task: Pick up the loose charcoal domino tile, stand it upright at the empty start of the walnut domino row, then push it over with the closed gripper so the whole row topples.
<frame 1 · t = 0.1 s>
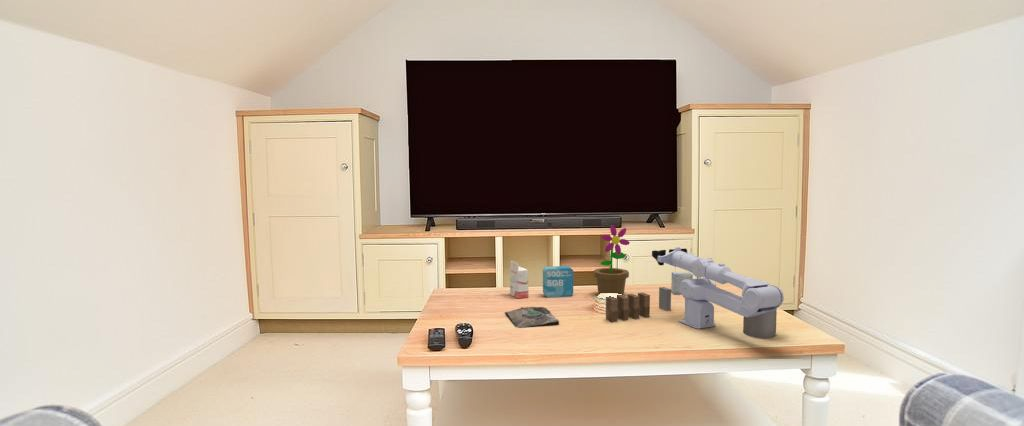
hand: (661, 252, 202), 22 cm above the table, tool horizontal, fingers open, 7 cm apart
tile 2: (643, 315, 197), on the table
tile 5: (611, 320, 192), on the table
ink cartridge box: (519, 296, 227), on the table
terrain model: (530, 320, 195), on the table
medicine box: (681, 293, 229), on the table
tile 3: (633, 317, 195), on the table
flowerpot: (610, 296, 226), on the table
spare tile: (664, 309, 205), on the table
tile 4: (622, 318, 193), on the table
data package: (558, 296, 227), on the table
pillar candle: (759, 334, 175), on the table
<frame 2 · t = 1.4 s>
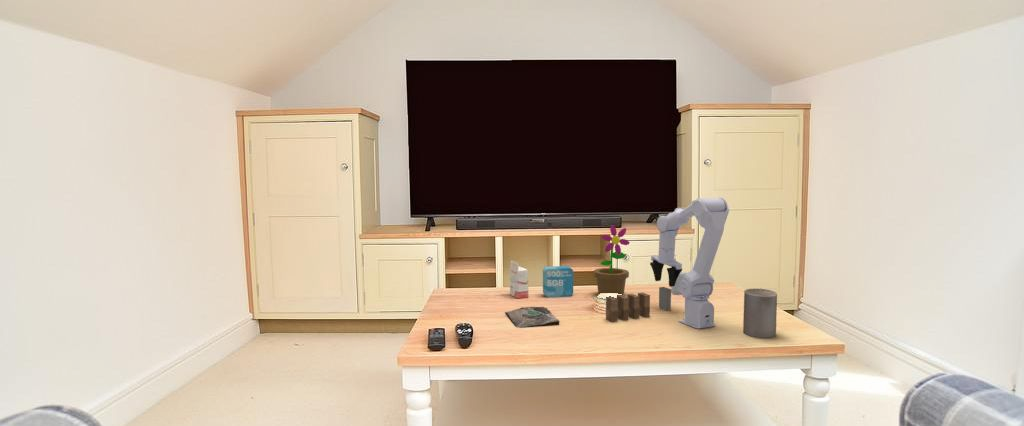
hand: (664, 283, 204), 10 cm above the table, tool pointing down, fingers open, 7 cm apart
nothing on the table moved.
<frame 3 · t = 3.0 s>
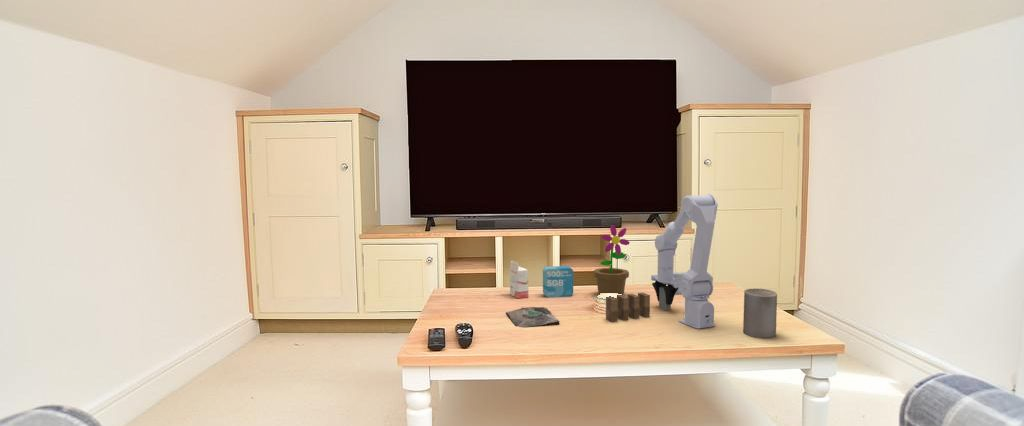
hand: (664, 302, 205), 2 cm above the table, tool pointing down, fingers closed on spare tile, 4 cm apart
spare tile: (664, 309, 205), on the table, touching gripper
everything else where it was.
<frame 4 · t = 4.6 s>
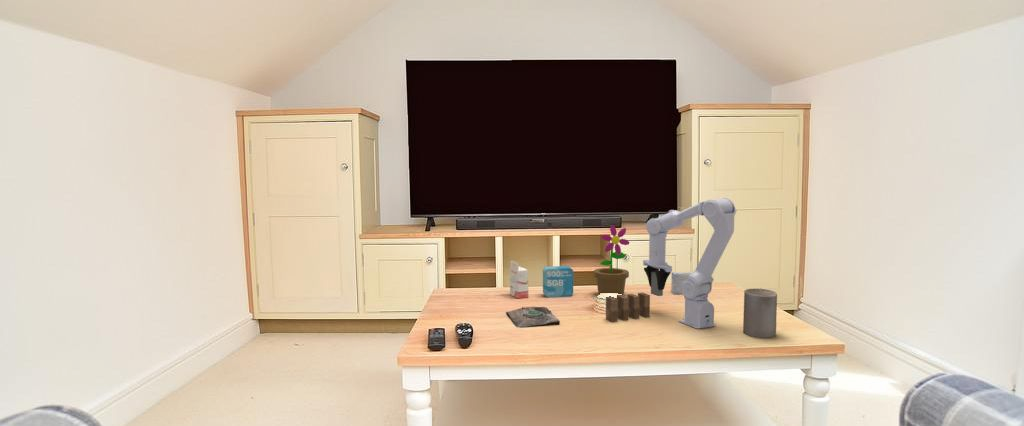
hand: (656, 288, 199), 9 cm above the table, tool pointing down, fingers closed on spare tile, 4 cm apart
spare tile: (656, 294, 199), point 7 cm above the table, touching gripper
everything else where it was.
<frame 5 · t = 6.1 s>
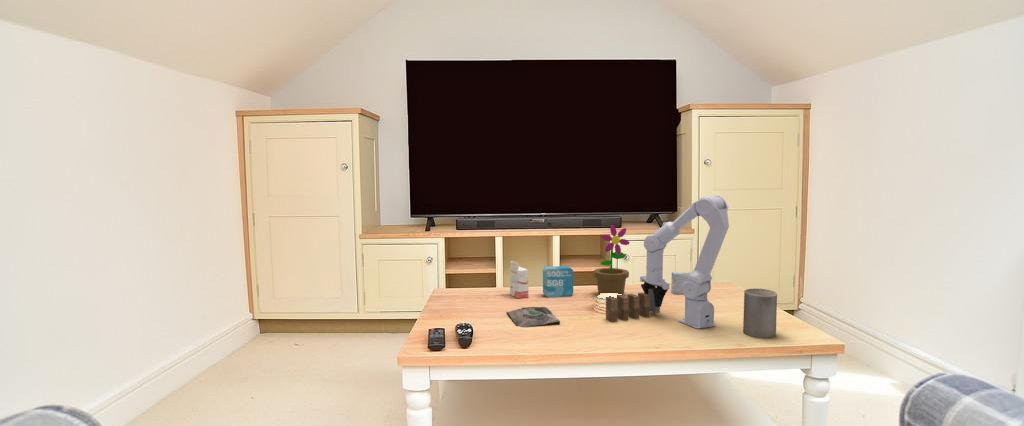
hand: (653, 304, 198), 3 cm above the table, tool pointing down, fingers closed on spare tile, 4 cm apart
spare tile: (653, 311, 198), point 1 cm above the table, touching gripper
everything else where it was.
when the fingers open (3 cm above the table, at t = 6.8 s): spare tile stays where it is, on the table.
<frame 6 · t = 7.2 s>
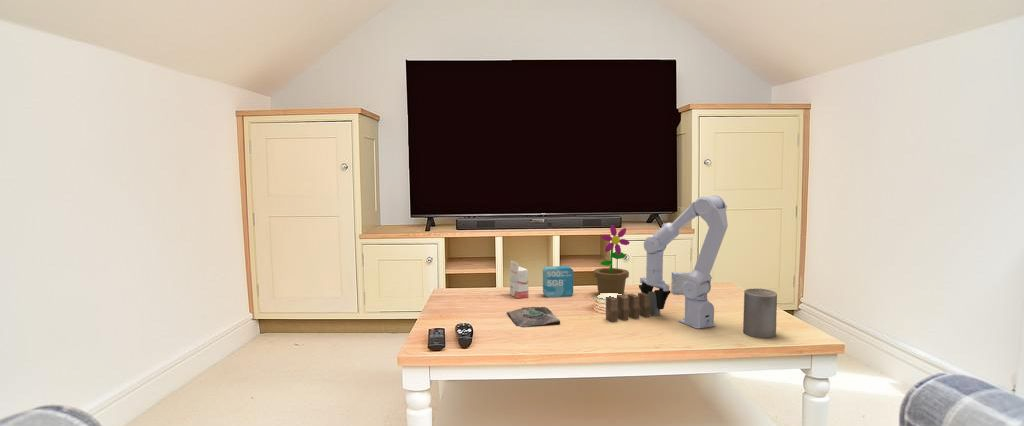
hand: (653, 306, 198), 3 cm above the table, tool pointing down, fingers open, 7 cm apart
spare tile: (653, 314, 198), on the table
everything else where it was.
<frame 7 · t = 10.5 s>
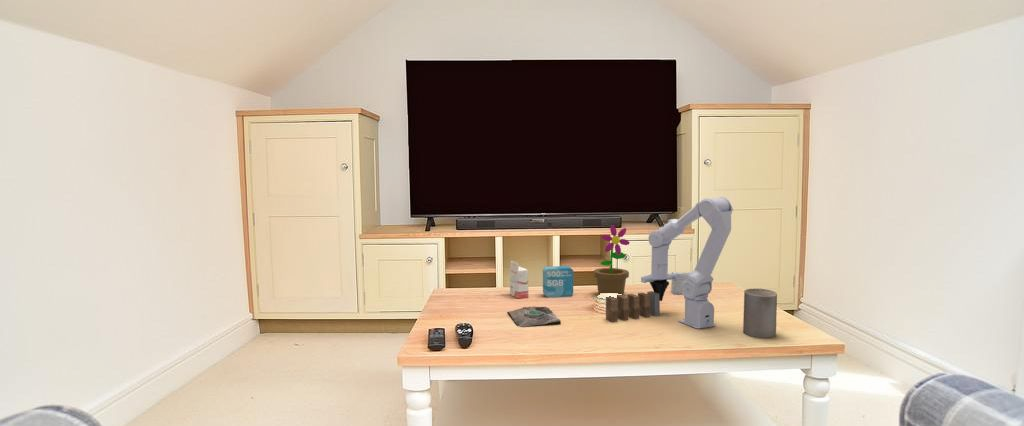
hand: (658, 300, 199), 5 cm above the table, tool pointing down, fingers closed
nothing on the table moved.
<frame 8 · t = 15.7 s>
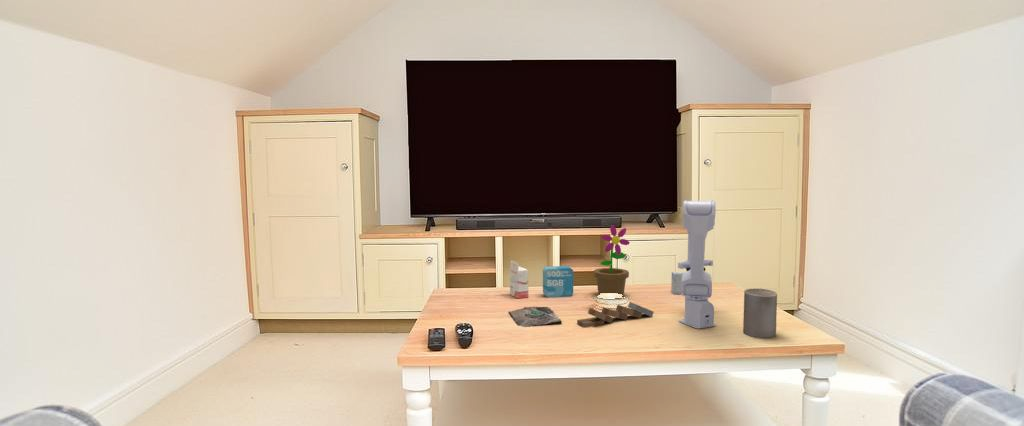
hand: (695, 286, 201), 9 cm above the table, tool pointing down, fingers closed
tile 2: (637, 314, 196), point 1 cm above the table, tilted 69°, touching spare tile
tile 5: (600, 321, 189), on the table, tilted 90°, touching tile 4
tile 3: (623, 315, 194), point 1 cm above the table, tilted 71°, touching tile 4
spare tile: (649, 312, 197), point 1 cm above the table, tilted 65°, touching tile 2
tile 4: (607, 318, 190), point 1 cm above the table, tilted 64°, touching tile 3, tile 5
at the end: tile 5 tilted 90°; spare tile tilted 65°; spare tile inside the target area (1.3 cm from its centre), point 0.9 cm above the table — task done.
